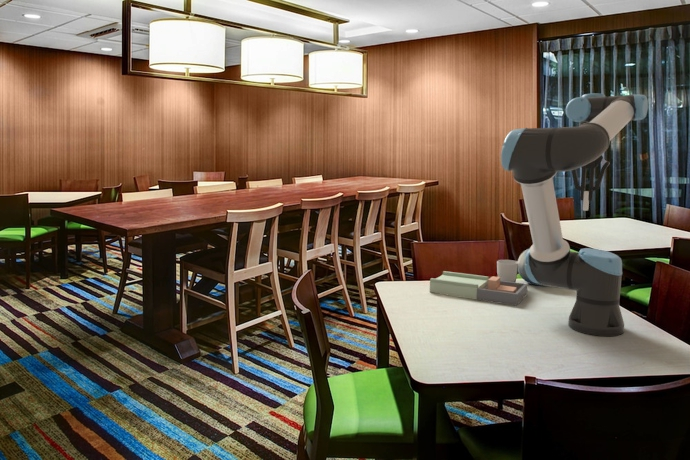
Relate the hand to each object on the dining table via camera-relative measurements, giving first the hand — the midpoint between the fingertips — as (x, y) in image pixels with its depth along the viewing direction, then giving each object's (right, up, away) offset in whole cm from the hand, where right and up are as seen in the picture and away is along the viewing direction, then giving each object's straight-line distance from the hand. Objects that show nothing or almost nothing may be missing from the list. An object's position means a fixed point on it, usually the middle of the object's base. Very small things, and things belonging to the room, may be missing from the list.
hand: (585, 210), depth 180 cm
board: (-40, -30, +18) cm, 53 cm away
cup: (-20, -29, +24) cm, 43 cm away
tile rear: (-30, -27, +12) cm, 42 cm away
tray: (-26, -31, +10) cm, 42 cm away
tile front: (-25, -28, +9) cm, 38 cm away
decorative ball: (-7, -29, +28) cm, 41 cm away
